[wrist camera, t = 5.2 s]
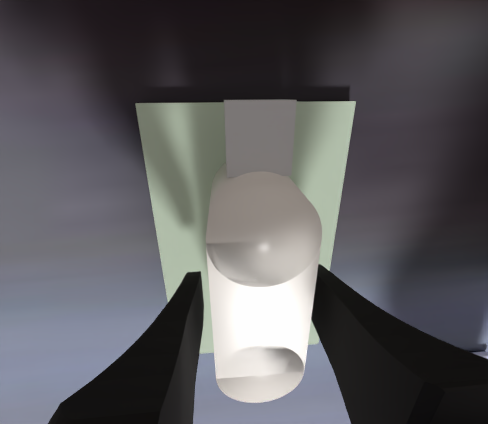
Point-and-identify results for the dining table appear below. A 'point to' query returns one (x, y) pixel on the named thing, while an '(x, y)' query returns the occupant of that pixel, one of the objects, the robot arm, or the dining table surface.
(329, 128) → the mat
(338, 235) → the dining table surface
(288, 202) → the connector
